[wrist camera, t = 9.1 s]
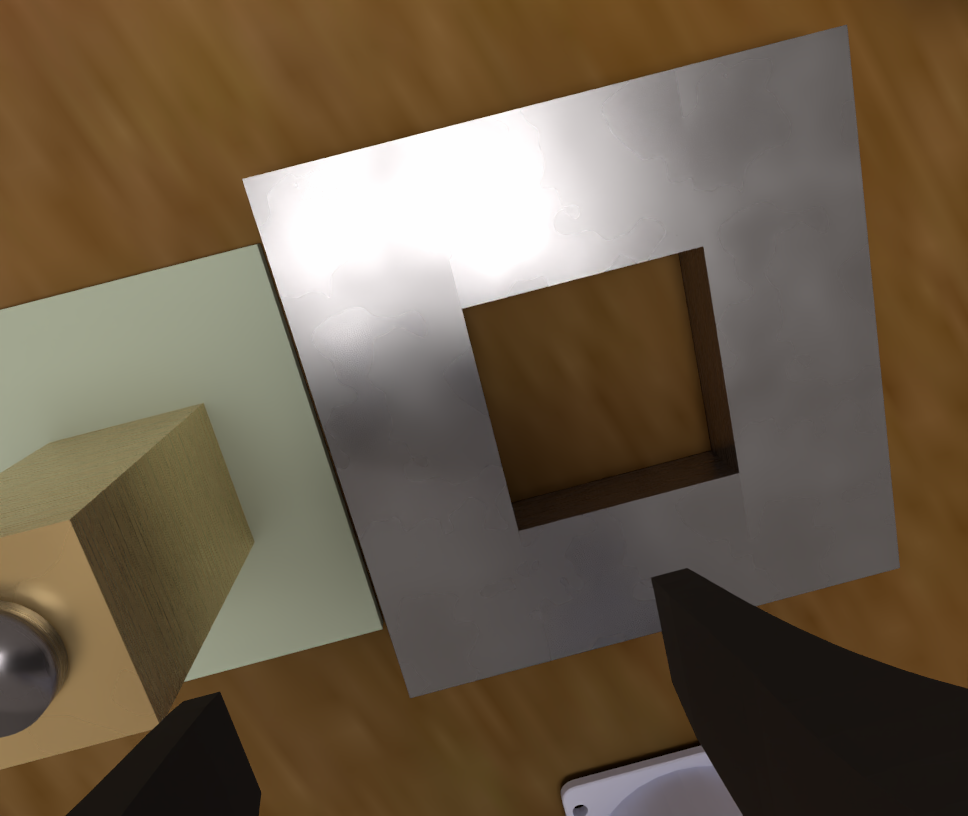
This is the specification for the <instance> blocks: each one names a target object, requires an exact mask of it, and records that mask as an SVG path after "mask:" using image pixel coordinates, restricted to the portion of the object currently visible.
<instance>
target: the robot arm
mask: <svg viewBox="0 0 968 816" xmlns="http://www.w3.org/2000/svg"><path fill="white" fill-rule="evenodd" d="M651 580H652V585H653V590H654V595H655V600H656V605H657V610H658V615H659V620H660V625H661V629H662V634H663V639H664V644H665V649H666V654H667V659H668V664H669V669H670V673H671V678H672V683H673V685H674V687H675V690H676V692H677V694H678V697H679V699H680V701H681V704H682V706H683V708H684V710H685V713H686V715H687V717H688V719H689V722H690V724H691V726H692V728H693V730H694V733H695V735H696V737H697V739H698V741H699V742H700V744H701V746H697V747H693V748H689V749H686V750H682V751H678V752H675V753H671V754H667V755H663V756H660V757H656V758H652V759H649V760H645V761H641V762H637V763H634V764H630V765H626V766H622V767H619V768H615V769H611V770H608V771H604V772H600V773H596V774H593V775H589V776H585V777H582V778H578V779H574V780H571V781H569V782H567V783H566V784H565V785H564V786H563V787H562V789H561V797H562V802H563V806H564V809H565V813H566V816H968V689H967V688H963V687H960V686H956V685H952V684H949V683H945V682H941V681H938V680H934V679H930V678H927V677H924V676H921V675H917V674H914V673H911V672H908V671H905V670H902V669H899V668H896V667H893V666H890V665H888V664H885V663H882V662H879V661H876V660H874V659H871V658H868V657H865V656H862V655H860V654H857V653H854V652H852V651H849V650H847V649H844V648H842V647H839V646H837V645H835V644H832V643H830V642H828V641H826V640H823V639H821V638H819V637H817V636H815V635H812V634H810V633H808V632H806V631H803V630H801V629H799V628H797V627H795V626H793V625H791V624H789V623H787V622H785V621H783V620H781V619H779V618H777V617H775V616H773V615H771V614H769V613H767V612H765V611H763V610H761V609H759V608H757V607H756V606H754V605H752V604H750V603H748V602H746V601H745V600H743V599H741V598H739V597H737V596H736V595H734V594H732V593H730V592H729V591H727V590H725V589H723V588H722V587H720V586H718V585H716V584H715V583H713V582H711V581H709V580H708V579H706V578H704V577H703V576H701V575H699V574H697V573H696V572H694V571H692V570H690V569H688V568H685V569H681V570H677V571H673V572H670V573H666V574H662V575H658V576H655V577H651ZM260 799H261V791H260V788H259V786H258V783H257V781H256V778H255V776H254V774H253V771H252V769H251V766H250V764H249V761H248V759H247V756H246V754H245V752H244V749H243V747H242V744H241V742H240V739H239V737H238V734H237V732H236V730H235V727H234V725H233V722H232V720H231V717H230V715H229V712H228V710H227V707H226V705H225V703H224V700H223V698H222V695H221V693H220V692H217V693H213V694H209V695H206V696H202V697H198V698H194V699H191V700H187V701H183V702H182V703H181V704H180V705H179V706H177V707H176V708H175V709H174V710H173V711H172V712H170V713H169V714H168V715H167V716H166V717H165V718H164V719H163V720H162V721H161V722H160V723H159V724H158V725H157V726H156V727H155V728H154V729H153V730H152V731H150V732H149V733H148V734H147V735H146V736H145V737H144V738H143V739H142V740H141V741H140V742H139V743H138V744H137V745H136V746H135V747H134V749H133V750H132V751H131V752H130V753H129V754H128V755H127V756H126V757H125V758H124V759H123V760H122V761H121V762H120V763H119V764H118V765H117V766H116V767H115V768H114V769H113V770H112V771H111V772H110V773H109V774H108V775H107V776H106V777H105V778H104V779H103V780H102V781H101V782H100V783H99V784H98V785H97V786H96V787H95V788H94V789H93V790H92V791H91V792H90V793H89V794H88V795H87V796H86V797H85V798H84V799H83V800H82V801H81V802H79V803H78V804H77V805H76V806H75V807H74V808H73V809H72V810H71V811H70V812H69V813H68V814H67V815H66V816H259V807H260ZM577 805H584V806H583V807H581V808H574V807H576V806H577Z"/></svg>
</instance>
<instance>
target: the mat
mask: <svg viewBox="0 0 968 816" xmlns="http://www.w3.org/2000/svg"><path fill="white" fill-rule="evenodd" d="M201 403H204V405H205V408H206V411H207V414H208V416H209V419H210V422H211V425H212V427H213V430H214V433H215V435H216V438H217V441H218V444H219V446H220V449H221V452H222V455H223V457H224V460H225V463H226V465H227V468H228V471H229V474H230V476H231V479H232V482H233V485H234V487H235V490H236V493H237V496H238V498H239V501H240V504H241V506H242V509H243V512H244V515H245V517H246V520H247V523H248V526H249V528H250V531H251V534H252V536H253V539H254V542H255V543H254V545H253V547H252V549H251V551H250V553H249V555H248V556H247V558H246V560H245V562H244V564H243V566H242V568H241V570H240V572H239V574H238V576H237V578H236V580H235V582H234V584H233V586H232V588H231V590H230V592H229V594H228V596H227V598H226V600H225V602H224V604H223V606H222V608H221V610H220V612H219V614H218V616H217V618H216V619H215V621H214V623H213V625H212V627H211V629H210V631H209V633H208V635H207V637H206V639H205V641H204V643H203V645H202V647H201V649H200V651H199V653H198V655H197V657H196V659H195V661H194V663H193V665H192V667H191V669H190V671H189V673H188V675H187V677H186V679H185V681H189V680H192V679H196V678H200V677H204V676H207V675H211V674H215V673H219V672H222V671H226V670H230V669H234V668H238V667H241V666H245V665H249V664H253V663H256V662H260V661H264V660H268V659H272V658H275V657H279V656H283V655H287V654H290V653H294V652H298V651H302V650H306V649H309V648H313V647H317V646H321V645H324V644H328V643H332V642H336V641H340V640H343V639H347V638H351V637H355V636H358V635H362V634H366V633H370V632H374V631H377V630H381V629H383V620H382V617H381V614H380V611H379V607H378V604H377V601H376V598H375V595H374V592H373V589H372V586H371V583H370V580H369V577H368V574H367V571H366V567H365V564H364V561H363V558H362V555H361V552H360V549H359V546H358V543H357V540H356V537H355V534H354V531H353V527H352V524H351V521H350V518H349V515H348V512H347V509H346V506H345V503H344V500H343V497H342V494H341V491H340V487H339V484H338V481H337V478H336V475H335V472H334V469H333V466H332V463H331V460H330V457H329V454H328V451H327V447H326V444H325V441H324V438H323V435H322V432H321V429H320V426H319V423H318V420H317V417H316V414H315V411H314V407H313V404H312V401H311V398H310V395H309V392H308V389H307V386H306V383H305V380H304V377H303V374H302V371H301V367H300V364H299V361H298V358H297V355H296V352H295V349H294V346H293V343H292V340H291V337H290V334H289V331H288V327H287V324H286V321H285V318H284V315H283V312H282V309H281V306H280V303H279V300H278V297H277V294H276V291H275V287H274V284H273V281H272V278H271V275H270V272H269V269H268V266H267V263H266V260H265V257H264V254H263V251H262V247H261V244H256V245H252V246H248V247H244V248H240V249H236V250H232V251H228V252H224V253H221V254H217V255H213V256H209V257H205V258H201V259H197V260H193V261H189V262H185V263H182V264H178V265H174V266H170V267H166V268H162V269H158V270H154V271H150V272H147V273H143V274H139V275H135V276H131V277H127V278H123V279H119V280H115V281H111V282H108V283H104V284H100V285H96V286H92V287H88V288H84V289H80V290H76V291H73V292H69V293H65V294H61V295H57V296H53V297H49V298H45V299H41V300H37V301H34V302H30V303H26V304H22V305H18V306H14V307H10V308H6V309H2V310H0V473H1V472H3V471H4V470H6V469H7V468H9V467H11V466H12V465H14V464H16V463H17V462H19V461H20V460H22V459H24V458H25V457H27V456H28V455H30V454H32V453H33V452H35V451H37V450H38V449H40V448H41V447H43V446H45V445H46V444H48V443H50V442H54V441H58V440H61V439H65V438H69V437H73V436H77V435H81V434H85V433H89V432H92V431H96V430H100V429H104V428H108V427H112V426H116V425H120V424H123V423H127V422H131V421H135V420H139V419H143V418H147V417H151V416H154V415H158V414H162V413H166V412H170V411H174V410H178V409H182V408H186V407H189V406H193V405H197V404H201ZM185 681H184V682H185Z"/></svg>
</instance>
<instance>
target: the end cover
mask: <svg viewBox="0 0 968 816" xmlns="http://www.w3.org/2000/svg"><path fill="white" fill-rule="evenodd" d="M254 543H255V542H254V539H253V536H252V534H251V531H250V528H249V526H248V523H247V520H246V517H245V515H244V512H243V509H242V506H241V504H240V501H239V498H238V496H237V493H236V490H235V487H234V485H233V482H232V479H231V476H230V474H229V471H228V468H227V465H226V463H225V460H224V457H223V455H222V452H221V449H220V446H219V444H218V441H217V438H216V435H215V433H214V430H213V427H212V425H211V422H210V419H209V416H208V414H207V411H206V408H205V405H204V403H201V404H197V405H193V406H189V407H186V408H182V409H178V410H174V411H170V412H166V413H162V414H158V415H154V416H151V417H147V418H143V419H139V420H135V421H131V422H127V423H123V424H120V425H116V426H112V427H108V428H104V429H100V430H96V431H92V432H89V433H85V434H81V435H77V436H73V437H69V438H65V439H61V440H58V441H54V442H50V443H48V444H46V445H45V446H43V447H41V448H40V449H38V450H37V451H35V452H33V453H32V454H30V455H28V456H27V457H25V458H24V459H22V460H20V461H19V462H17V463H16V464H14V465H12V466H11V467H9V468H7V469H6V470H4V471H3V472H1V473H0V769H4V768H8V767H12V766H15V765H19V764H23V763H27V762H31V761H34V760H38V759H42V758H46V757H50V756H53V755H57V754H61V753H65V752H68V751H72V750H76V749H80V748H84V747H87V746H91V745H95V744H99V743H103V742H106V741H110V740H114V739H118V738H122V737H125V736H129V735H133V734H137V733H140V732H144V731H148V730H152V729H154V728H155V727H156V726H157V725H158V724H159V723H160V722H161V721H162V720H163V719H164V718H165V717H166V716H167V714H168V712H169V710H170V708H171V706H172V704H173V702H174V700H175V698H176V696H177V694H178V692H179V690H180V688H181V686H182V684H183V682H184V681H185V679H186V677H187V675H188V673H189V671H190V669H191V667H192V665H193V663H194V661H195V659H196V657H197V655H198V653H199V651H200V649H201V647H202V645H203V643H204V641H205V639H206V637H207V635H208V633H209V631H210V629H211V627H212V625H213V623H214V621H215V619H216V618H217V616H218V614H219V612H220V610H221V608H222V606H223V604H224V602H225V600H226V598H227V596H228V594H229V592H230V590H231V588H232V586H233V584H234V582H235V580H236V578H237V576H238V574H239V572H240V570H241V568H242V566H243V564H244V562H245V560H246V558H247V556H248V555H249V553H250V551H251V549H252V547H253V545H254Z"/></svg>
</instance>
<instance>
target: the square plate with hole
mask: <svg viewBox="0 0 968 816" xmlns="http://www.w3.org/2000/svg"><path fill="white" fill-rule="evenodd" d="M242 180H243V183H244V186H245V189H246V192H247V195H248V198H249V202H250V205H251V208H252V211H253V214H254V217H255V220H256V223H257V226H258V229H259V232H260V236H261V239H262V242H263V245H264V248H265V251H266V254H267V257H268V260H269V263H270V266H271V269H272V273H273V276H274V279H275V282H276V285H277V288H278V291H279V294H280V297H281V300H282V303H283V307H284V310H285V313H286V316H287V319H288V322H289V325H290V328H291V331H292V334H293V337H294V340H295V344H296V347H297V350H298V353H299V356H300V359H301V362H302V365H303V368H304V371H305V374H306V378H307V381H308V384H309V387H310V390H311V393H312V396H313V399H314V402H315V405H316V408H317V411H318V415H319V418H320V421H321V424H322V427H323V430H324V433H325V436H326V439H327V442H328V445H329V449H330V452H331V455H332V458H333V461H334V464H335V467H336V470H337V473H338V476H339V479H340V482H341V486H342V489H343V492H344V495H345V498H346V501H347V504H348V507H349V510H350V513H351V516H352V520H353V523H354V526H355V529H356V532H357V535H358V538H359V541H360V544H361V547H362V550H363V553H364V557H365V560H366V563H367V566H368V569H369V572H370V575H371V578H372V581H373V584H374V587H375V591H376V594H377V597H378V600H379V603H380V606H381V609H382V612H383V615H384V618H385V621H386V624H387V628H388V631H389V634H390V637H391V640H392V643H393V646H394V649H395V652H396V655H397V658H398V662H399V665H400V668H401V671H402V674H403V677H404V680H405V683H406V686H407V689H408V692H409V695H410V698H412V697H416V696H420V695H424V694H428V693H431V692H435V691H439V690H443V689H446V688H450V687H454V686H458V685H461V684H465V683H469V682H473V681H476V680H480V679H484V678H488V677H491V676H495V675H499V674H503V673H506V672H510V671H514V670H518V669H521V668H525V667H529V666H533V665H536V664H540V663H544V662H548V661H551V660H555V659H559V658H563V657H566V656H570V655H574V654H578V653H582V652H585V651H589V650H593V649H597V648H600V647H604V646H608V645H612V644H615V643H619V642H623V641H627V640H630V639H634V638H638V637H642V636H645V635H649V634H653V633H657V632H660V631H662V629H661V625H660V620H659V615H658V610H657V605H656V600H655V595H654V590H653V585H652V580H651V577H655V576H658V575H662V574H666V573H670V572H673V571H677V570H681V569H685V568H688V569H690V570H692V571H694V572H696V573H697V574H699V575H701V576H703V577H704V578H706V579H708V580H709V581H711V582H713V583H715V584H716V585H718V586H720V587H722V588H723V589H725V590H727V591H729V592H730V593H732V594H734V595H736V596H737V597H739V598H741V599H743V600H745V601H746V602H748V603H750V604H752V605H754V606H758V605H762V604H766V603H769V602H773V601H777V600H781V599H784V598H788V597H792V596H796V595H799V594H803V593H807V592H811V591H814V590H818V589H822V588H826V587H829V586H833V585H837V584H841V583H844V582H848V581H852V580H856V579H859V578H863V577H867V576H871V575H874V574H878V573H882V572H886V571H890V570H893V569H897V568H900V565H899V555H898V544H897V534H896V524H895V513H894V503H893V493H892V483H891V472H890V462H889V452H888V441H887V431H886V421H885V411H884V400H883V390H882V380H881V369H880V359H879V349H878V338H877V328H876V318H875V308H874V297H873V287H872V277H871V266H870V256H869V246H868V235H867V225H866V215H865V205H864V194H863V184H862V174H861V163H860V153H859V143H858V132H857V122H856V112H855V102H854V91H853V81H852V71H851V60H850V50H849V40H848V30H847V25H844V26H840V27H836V28H832V29H828V30H825V31H821V32H817V33H813V34H809V35H805V36H801V37H797V38H793V39H789V40H785V41H782V42H778V43H774V44H770V45H766V46H762V47H758V48H754V49H750V50H746V51H742V52H738V53H735V54H731V55H727V56H723V57H719V58H715V59H711V60H707V61H703V62H699V63H695V64H691V65H688V66H684V67H680V68H676V69H672V70H668V71H664V72H660V73H656V74H652V75H648V76H645V77H641V78H637V79H633V80H629V81H625V82H621V83H617V84H613V85H609V86H605V87H601V88H598V89H594V90H590V91H586V92H582V93H578V94H574V95H570V96H566V97H562V98H558V99H554V100H551V101H547V102H543V103H539V104H535V105H531V106H527V107H523V108H519V109H515V110H511V111H507V112H504V113H500V114H496V115H492V116H488V117H484V118H480V119H476V120H472V121H468V122H464V123H461V124H457V125H453V126H449V127H445V128H441V129H437V130H433V131H429V132H425V133H421V134H417V135H414V136H410V137H406V138H402V139H398V140H394V141H390V142H386V143H382V144H378V145H374V146H370V147H367V148H363V149H359V150H355V151H351V152H347V153H343V154H339V155H335V156H331V157H327V158H324V159H320V160H316V161H312V162H308V163H304V164H300V165H296V166H292V167H288V168H284V169H280V170H277V171H273V172H269V173H265V174H261V175H257V176H253V177H249V178H245V179H242ZM675 253H679V257H680V263H681V269H682V275H683V281H684V287H685V293H686V299H687V305H688V310H689V316H690V322H691V328H692V334H693V340H694V346H695V352H696V358H697V364H698V370H699V376H700V382H701V388H702V393H703V399H704V405H705V411H706V417H707V423H708V429H709V435H710V441H711V447H712V451H708V452H705V453H701V454H697V455H693V456H689V457H686V458H682V459H678V460H674V461H670V462H667V463H663V464H659V465H655V466H651V467H648V468H644V469H640V470H636V471H632V472H629V473H625V474H621V475H617V476H613V477H609V478H606V479H602V480H598V481H594V482H590V483H587V484H583V485H579V486H575V487H571V488H568V489H564V490H560V491H556V492H552V493H549V494H545V495H541V496H537V497H533V498H530V499H526V500H522V501H518V502H514V503H511V500H510V496H509V492H508V488H507V484H506V480H505V476H504V472H503V469H502V465H501V461H500V457H499V453H498V449H497V445H496V441H495V437H494V433H493V429H492V426H491V422H490V418H489V414H488V410H487V406H486V402H485V398H484V394H483V390H482V386H481V383H480V379H479V375H478V371H477V367H476V363H475V359H474V355H473V351H472V347H471V343H470V340H469V336H468V332H467V328H466V324H465V320H464V316H463V312H462V309H463V308H467V307H471V306H475V305H479V304H482V303H486V302H490V301H494V300H498V299H502V298H506V297H509V296H513V295H517V294H521V293H525V292H529V291H533V290H537V289H540V288H544V287H548V286H552V285H556V284H560V283H564V282H567V281H571V280H575V279H579V278H583V277H587V276H591V275H594V274H598V273H602V272H606V271H610V270H614V269H618V268H621V267H625V266H629V265H633V264H637V263H641V262H645V261H648V260H652V259H656V258H660V257H664V256H668V255H672V254H675Z"/></svg>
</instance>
